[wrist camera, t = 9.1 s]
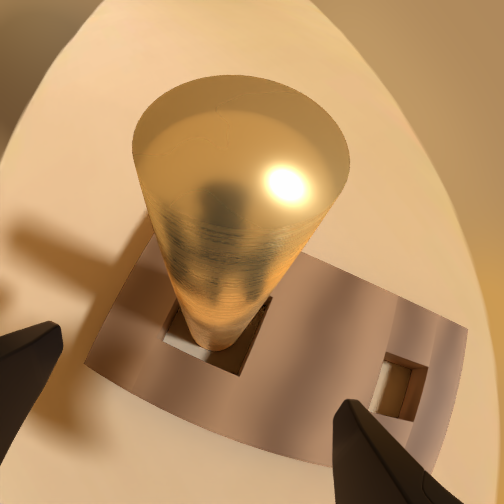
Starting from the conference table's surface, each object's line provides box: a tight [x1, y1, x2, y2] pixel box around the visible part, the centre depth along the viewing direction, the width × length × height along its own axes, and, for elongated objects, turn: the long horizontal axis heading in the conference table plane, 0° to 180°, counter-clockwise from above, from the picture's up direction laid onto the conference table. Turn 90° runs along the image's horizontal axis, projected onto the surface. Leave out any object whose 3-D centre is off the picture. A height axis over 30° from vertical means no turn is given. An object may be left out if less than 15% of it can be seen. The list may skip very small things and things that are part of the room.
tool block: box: [84, 233, 468, 475], centre depth 17 cm, size 24×12×2 cm, turn 67°
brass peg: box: [132, 75, 350, 351], centre depth 11 cm, size 3×3×16 cm
